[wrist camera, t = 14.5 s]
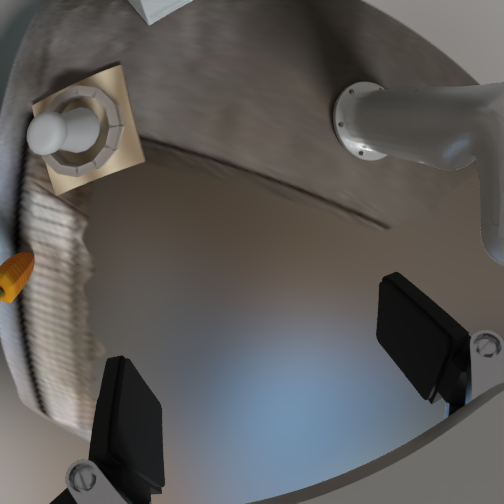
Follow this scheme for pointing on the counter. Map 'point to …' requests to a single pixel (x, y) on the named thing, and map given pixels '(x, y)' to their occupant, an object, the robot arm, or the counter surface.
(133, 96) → the counter surface
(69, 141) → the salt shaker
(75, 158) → the ring holder
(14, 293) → the carrot
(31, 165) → the counter surface
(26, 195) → the counter surface
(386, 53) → the counter surface
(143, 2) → the supplement box
